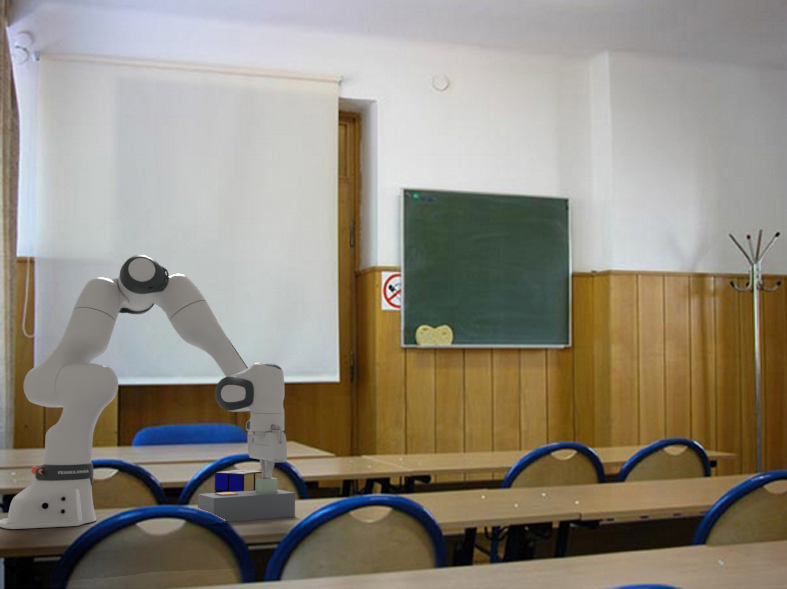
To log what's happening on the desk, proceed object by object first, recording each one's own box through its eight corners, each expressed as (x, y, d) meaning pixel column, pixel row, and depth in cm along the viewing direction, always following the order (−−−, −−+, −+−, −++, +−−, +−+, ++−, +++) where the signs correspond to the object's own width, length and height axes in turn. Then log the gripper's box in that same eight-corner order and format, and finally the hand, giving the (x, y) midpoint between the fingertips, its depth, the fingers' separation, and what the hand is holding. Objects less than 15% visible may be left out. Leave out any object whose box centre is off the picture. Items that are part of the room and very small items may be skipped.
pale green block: (262, 502, 238) (262, 479, 239) (255, 500, 242) (256, 478, 242) (277, 501, 240) (277, 478, 241) (270, 499, 244) (270, 477, 244)
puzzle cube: (213, 509, 255) (214, 472, 256) (235, 505, 264) (236, 469, 265) (243, 511, 250) (243, 473, 251) (264, 507, 259) (265, 470, 260)
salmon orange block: (221, 518, 232) (221, 494, 233) (215, 516, 236) (215, 492, 236) (237, 516, 234) (237, 493, 235) (230, 514, 238) (231, 491, 238)
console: (213, 523, 227) (214, 498, 228) (197, 517, 237) (198, 493, 237) (294, 516, 239) (295, 492, 239) (276, 511, 248) (276, 489, 249)
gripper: (293, 425, 236) (292, 480, 234) (265, 422, 254) (265, 474, 252) (269, 426, 233) (269, 482, 231) (243, 423, 251) (243, 475, 249)
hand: (267, 478), depth 242 cm, fingers closed, pressing on pale green block
